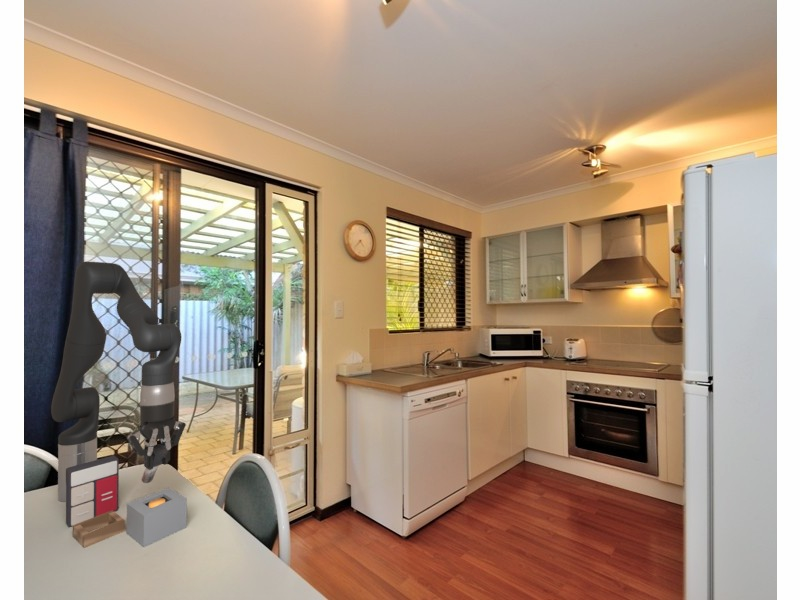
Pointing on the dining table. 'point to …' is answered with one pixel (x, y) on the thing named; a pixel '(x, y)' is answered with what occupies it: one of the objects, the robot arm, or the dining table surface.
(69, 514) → the calculator
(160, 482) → the dining table surface
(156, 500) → the button
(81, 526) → the wooden square frame
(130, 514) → the guard box
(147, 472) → the stylus
